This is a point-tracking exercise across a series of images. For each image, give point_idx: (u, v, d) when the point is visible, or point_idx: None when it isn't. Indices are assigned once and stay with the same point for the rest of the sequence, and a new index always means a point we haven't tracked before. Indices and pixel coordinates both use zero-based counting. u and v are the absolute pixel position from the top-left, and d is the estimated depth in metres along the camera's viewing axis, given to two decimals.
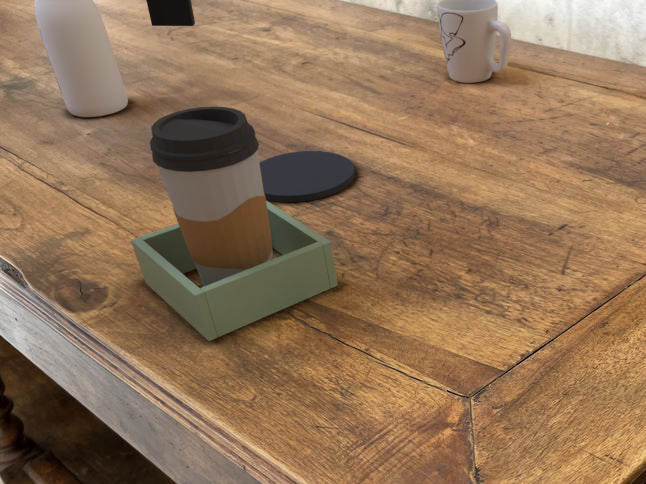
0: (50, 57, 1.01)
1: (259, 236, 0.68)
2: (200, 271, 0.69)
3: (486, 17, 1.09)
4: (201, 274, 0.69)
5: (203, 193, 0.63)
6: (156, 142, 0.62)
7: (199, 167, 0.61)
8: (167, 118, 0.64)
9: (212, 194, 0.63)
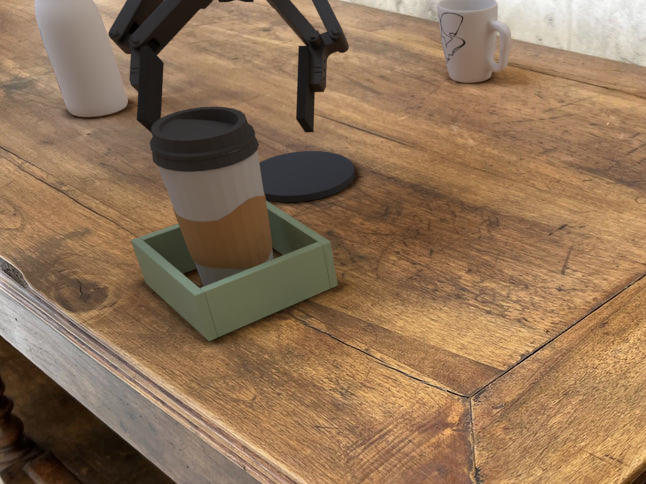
0: (50, 57, 1.01)
1: (259, 236, 0.68)
2: (200, 271, 0.69)
3: (486, 17, 1.09)
4: (201, 274, 0.69)
5: (203, 192, 0.63)
6: (156, 142, 0.62)
7: (199, 167, 0.61)
8: (167, 118, 0.64)
9: (212, 194, 0.63)
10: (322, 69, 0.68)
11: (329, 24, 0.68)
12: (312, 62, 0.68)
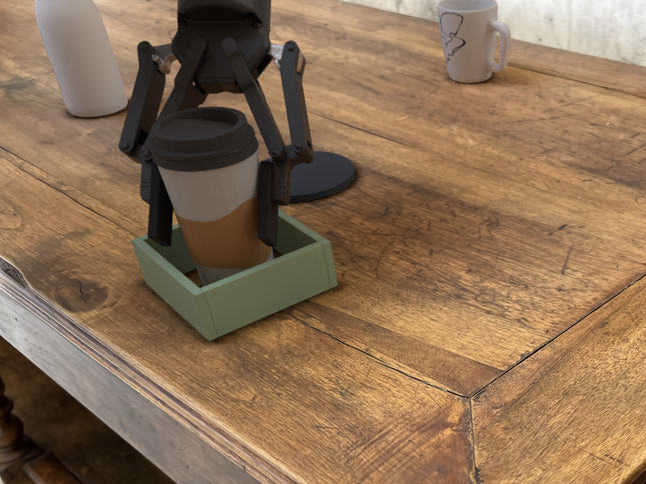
0: (50, 57, 1.01)
1: None
2: (200, 271, 0.69)
3: (486, 17, 1.09)
4: (201, 274, 0.69)
5: (203, 192, 0.63)
6: (156, 142, 0.62)
7: (199, 167, 0.61)
8: (167, 118, 0.64)
9: (212, 194, 0.63)
10: (285, 184, 0.66)
11: (295, 136, 0.66)
12: (275, 177, 0.66)
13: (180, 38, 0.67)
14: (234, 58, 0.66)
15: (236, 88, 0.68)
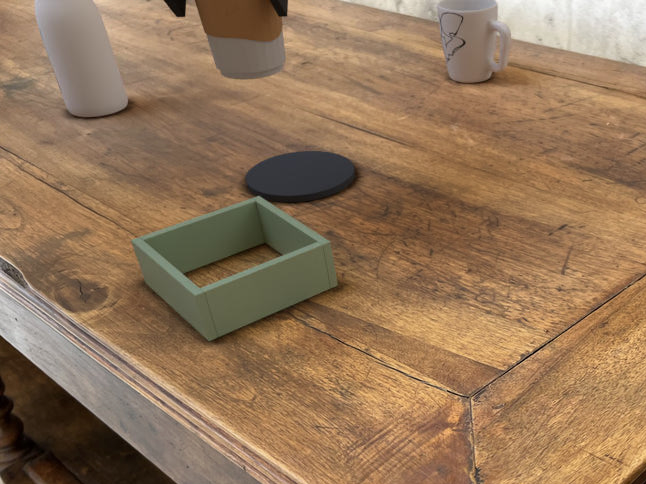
0: (50, 57, 1.01)
1: (270, 8, 0.70)
2: (213, 45, 0.71)
3: (486, 17, 1.09)
4: (214, 49, 0.71)
5: None
6: None
7: None
8: None
9: None
10: None
11: None
12: None
13: None
14: None
15: None
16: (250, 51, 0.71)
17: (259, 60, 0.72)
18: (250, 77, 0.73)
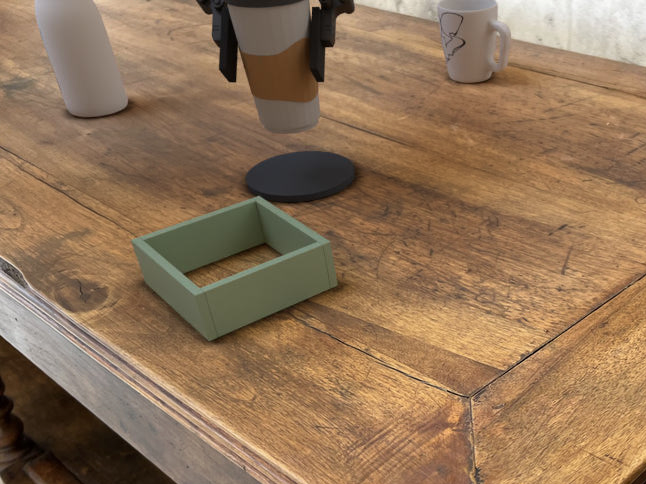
0: (50, 57, 1.01)
1: (309, 74, 0.82)
2: (259, 106, 0.83)
3: (486, 17, 1.09)
4: (260, 109, 0.83)
5: (266, 28, 0.77)
6: None
7: (264, 4, 0.75)
8: None
9: (273, 29, 0.77)
10: (332, 27, 0.80)
11: None
12: (323, 21, 0.80)
13: None
14: None
15: None
16: (292, 111, 0.82)
17: (299, 118, 0.83)
18: (291, 132, 0.84)
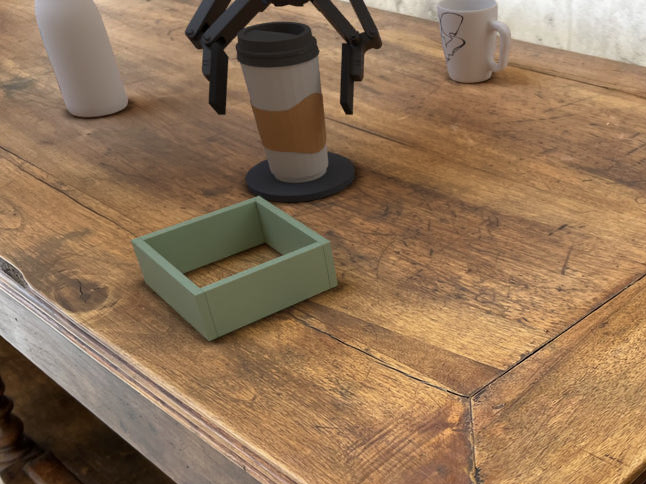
0: (50, 57, 1.01)
1: (318, 127, 0.85)
2: (270, 156, 0.86)
3: (486, 17, 1.09)
4: (270, 159, 0.86)
5: (277, 86, 0.80)
6: (242, 44, 0.79)
7: (276, 64, 0.78)
8: (248, 28, 0.81)
9: (284, 87, 0.80)
10: (361, 62, 0.83)
11: (367, 25, 0.83)
12: (352, 57, 0.83)
13: None
14: None
15: (298, 1, 0.84)
16: (301, 161, 0.86)
17: (307, 168, 0.87)
18: (300, 181, 0.87)
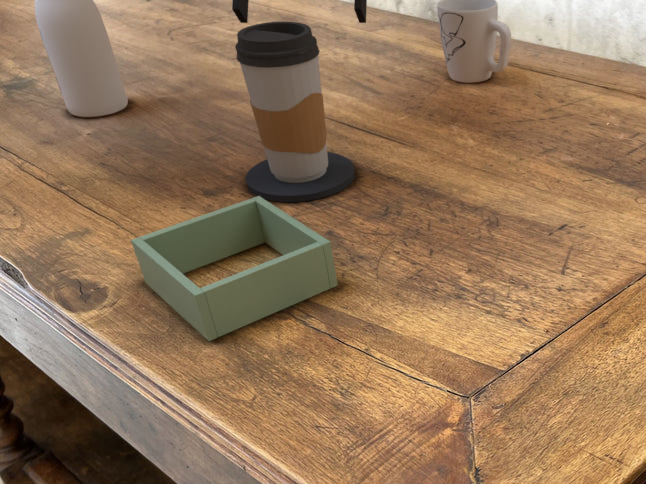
0: (50, 57, 1.01)
1: (318, 127, 0.85)
2: (270, 156, 0.86)
3: (486, 17, 1.09)
4: (270, 159, 0.86)
5: (277, 86, 0.80)
6: (242, 44, 0.79)
7: (276, 64, 0.78)
8: (248, 28, 0.81)
9: (284, 87, 0.80)
10: None
11: None
12: None
13: None
14: None
15: None
16: (301, 161, 0.86)
17: (307, 168, 0.87)
18: (300, 181, 0.87)
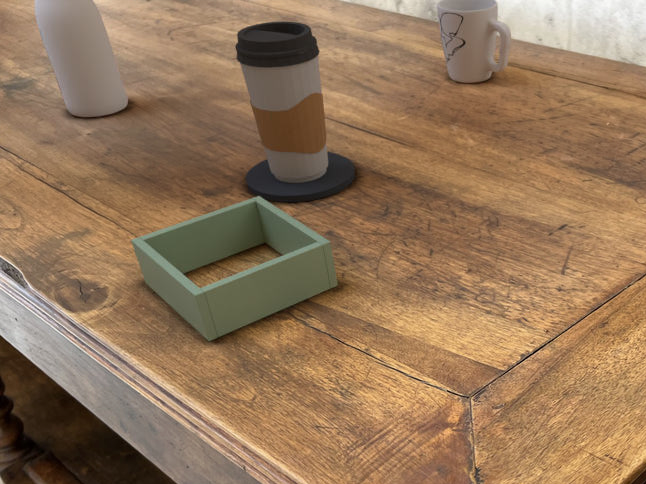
0: (50, 57, 1.01)
1: (318, 127, 0.85)
2: (270, 156, 0.86)
3: (486, 17, 1.09)
4: (270, 159, 0.86)
5: (277, 86, 0.80)
6: (242, 44, 0.79)
7: (276, 64, 0.78)
8: (248, 28, 0.81)
9: (284, 87, 0.80)
10: None
11: None
12: None
13: None
14: None
15: None
16: (301, 161, 0.86)
17: (307, 168, 0.87)
18: (300, 181, 0.87)
